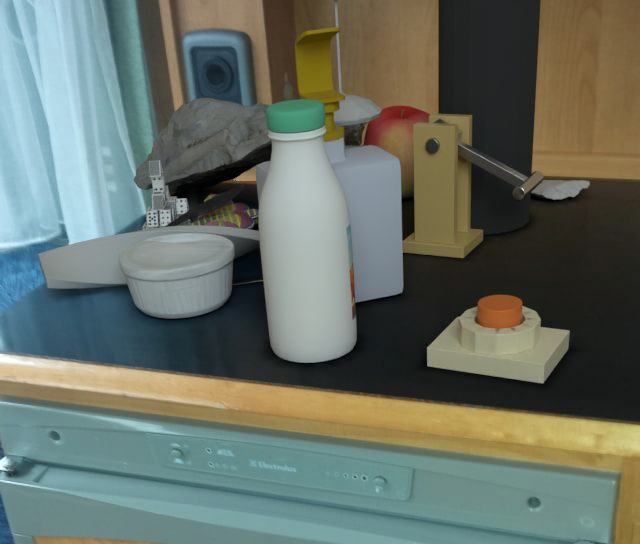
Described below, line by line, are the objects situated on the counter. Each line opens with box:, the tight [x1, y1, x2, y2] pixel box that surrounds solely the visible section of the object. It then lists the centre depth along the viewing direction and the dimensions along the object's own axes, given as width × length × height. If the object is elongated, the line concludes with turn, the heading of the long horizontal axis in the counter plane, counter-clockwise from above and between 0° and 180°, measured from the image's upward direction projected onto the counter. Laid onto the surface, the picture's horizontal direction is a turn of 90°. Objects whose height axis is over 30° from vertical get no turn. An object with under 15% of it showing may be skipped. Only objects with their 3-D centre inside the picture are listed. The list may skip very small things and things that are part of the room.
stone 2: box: [530, 179, 591, 201], centre depth 119 cm, size 6×8×2 cm
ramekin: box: [119, 233, 235, 320], centre depth 98 cm, size 11×11×5 cm
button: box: [477, 294, 523, 329], centre depth 82 cm, size 4×4×2 cm
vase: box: [437, 0, 542, 236], centre depth 105 cm, size 10×10×30 cm
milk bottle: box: [257, 98, 358, 364], centre depth 83 cm, size 8×8×20 cm
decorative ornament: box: [177, 193, 259, 230], centre depth 115 cm, size 17×2×10 cm
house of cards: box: [141, 161, 192, 230], centre depth 117 cm, size 9×9×8 cm
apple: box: [362, 105, 431, 200], centre depth 121 cm, size 10×10×10 cm
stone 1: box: [133, 97, 272, 193], centre depth 122 cm, size 15×28×10 cm, turn 50°
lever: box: [433, 119, 545, 201], centre depth 101 cm, size 12×6×2 cm, turn 62°
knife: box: [232, 276, 263, 286], centre depth 104 cm, size 10×2×1 cm, turn 96°
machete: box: [165, 185, 245, 227], centre depth 113 cm, size 15×3×1 cm, turn 113°
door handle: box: [37, 224, 260, 290], centre depth 104 cm, size 26×5×5 cm
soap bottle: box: [255, 26, 404, 304], centre depth 91 cm, size 12×7×23 cm, turn 109°
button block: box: [426, 305, 571, 384], centre depth 84 cm, size 10×7×4 cm
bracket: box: [402, 113, 484, 259], centre depth 105 cm, size 7×6×13 cm
